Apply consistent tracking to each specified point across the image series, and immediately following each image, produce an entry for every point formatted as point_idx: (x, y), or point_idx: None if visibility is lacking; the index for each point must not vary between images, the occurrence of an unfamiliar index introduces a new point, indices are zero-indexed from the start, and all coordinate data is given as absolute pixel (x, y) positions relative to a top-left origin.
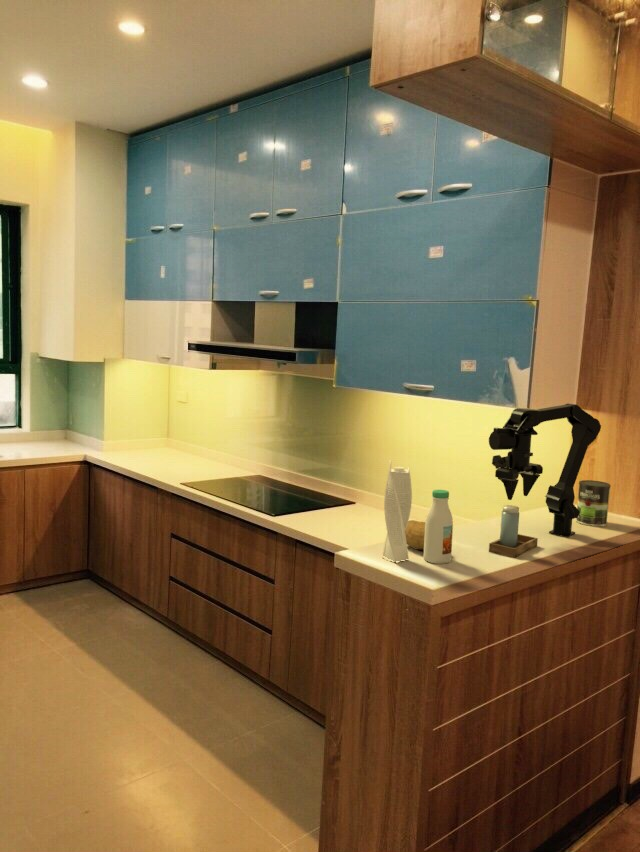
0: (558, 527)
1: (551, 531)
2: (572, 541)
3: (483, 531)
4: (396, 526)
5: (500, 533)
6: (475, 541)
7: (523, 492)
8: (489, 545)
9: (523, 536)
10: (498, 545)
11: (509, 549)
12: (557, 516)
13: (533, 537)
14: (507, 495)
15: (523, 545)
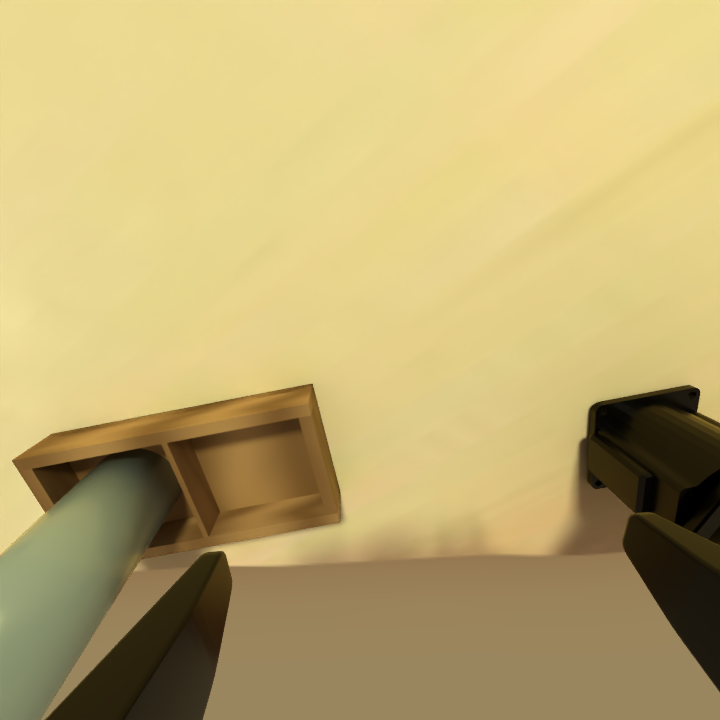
0: (611, 475)
1: (615, 409)
2: (541, 520)
3: (329, 147)
4: None
5: (34, 523)
6: (108, 275)
7: (673, 545)
8: (22, 454)
9: (312, 464)
10: (40, 502)
11: None
12: (677, 504)
13: (331, 507)
14: (154, 616)
15: (174, 551)
